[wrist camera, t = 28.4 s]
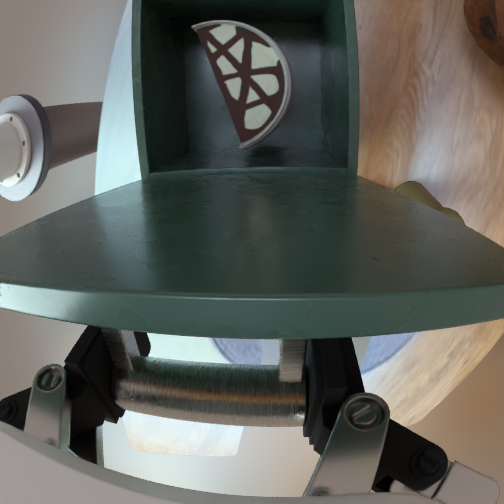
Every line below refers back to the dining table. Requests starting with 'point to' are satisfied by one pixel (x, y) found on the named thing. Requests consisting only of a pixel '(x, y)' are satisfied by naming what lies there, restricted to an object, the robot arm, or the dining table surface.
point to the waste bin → (213, 104)
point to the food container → (248, 77)
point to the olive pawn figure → (426, 198)
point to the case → (487, 26)
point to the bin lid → (246, 280)
